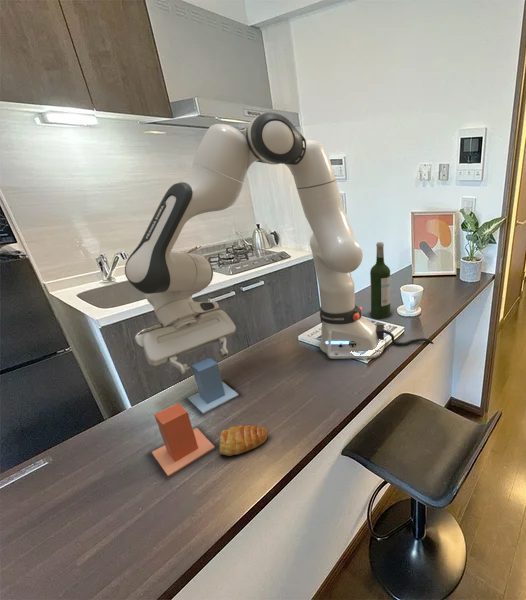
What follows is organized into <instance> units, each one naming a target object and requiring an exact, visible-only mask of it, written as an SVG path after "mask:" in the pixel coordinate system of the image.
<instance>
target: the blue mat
mask: <svg viewBox="0 0 526 600" xmlns="http://www.w3.org/2000/svg"><path fill="white" fill-rule="evenodd" d="M222 384H223V388H224V392H225V396H223V397H221V398H219V399H217V400H215V401H213V402H211V403H209V404H207V403H206V402H205V401H204V400H203V399H202V398H201V397H200V395H199V392H196V393H194V394H192V395H190V396H188V397H187V400H188V401H190V402H191V403H192V404H193V406H194V407H196V408H197V410H198V411H200V413H201V414H203V415H204V414H206V413H208V412H210V411H212V410H214V409H216V408H217V407H219V406H221V405H223V404H225V403H227V402H229V401H231V400H233V399H235V398H237V397H238V396H239V393H238V392H237V391H235V390H234V389H233V388H231V387H230V386H229V385H227V384H226V382H224V381H223V380H222Z"/></svg>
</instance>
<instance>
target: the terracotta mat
mask: <svg viewBox="0 0 526 600" xmlns="http://www.w3.org/2000/svg"><path fill="white" fill-rule="evenodd" d="M193 432H194V435H195V438H196V442H197V445H198V449H196V450H195V451H193V452H191V453H190V454H188V455H186V456H184V457H183V458H181V459H179V460H178V461H176V462H175V461H174V459H173V458H172V457H171V456H170V454H169V453H168V452H167V450H166V447H165V444H164V445H162V446H159V447H158V448H157V449H155V450H153V451H151V454H152V456H153V457H154V458H155V460H156V462H157V463H158V464H159V466H160V467H161V469H162V470H163V472H164V473H165V474H166V476H167V477H168V478H169V477H171V476H172V475H174V474H175V473H177V472H178V471H180V470H182V469H183V468H185V467H187V466H189V465H190V464H192V463H193V462H195V461H196V460H199V459H200V458H201V457H203V456H205V455H206V454H208V453H209V452H211V451H213V450H215V449H216V446H215V445H214V444H213V443H212V442H211V441H210V440H209V439H208V438H207V437H206V436H205V435H204V434H203V432H202V431H201V430H200V429H199V428H198V427H194V428H193Z"/></svg>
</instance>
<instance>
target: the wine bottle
mask: <svg viewBox="0 0 526 600" xmlns="http://www.w3.org/2000/svg"><path fill="white" fill-rule="evenodd" d="M384 246H385V245H384V242H382V241H377V242H376V255H375V256H376V257H375V258H376V259H375V264H374V265H373V266H371V268H370V272H369V275H370V276H369V278H370V279H369V280H370V315H371V316H372V317H373V318H375V319H386V318H388V317H390V315H391V269H390V267H389V266H388V265H387V264H386V263H385V253H384V251H385V250H384Z"/></svg>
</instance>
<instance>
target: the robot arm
mask: <svg viewBox="0 0 526 600" xmlns="http://www.w3.org/2000/svg"><path fill="white" fill-rule="evenodd" d="M254 163H262V164H267V165H284V166H286V167H287V169H289V171H290V173H291V175H292V177H293V181H294V184H295V188H296V191H297V194H298V197H299V201H300V205H301V207H302V210H303V214H304V217H305V219H306V221H307V222H308V224H309V226H310V229H311V232H312V234H311V236H310V238H309V247H310V250H311V255H312V259H313V265H314V269H315V274H316V277H317V283H318V289H319V299H320V300H319V301H320V307H319V318H320V323H321V335H320V341H319V345H318V346H319V349H320V351H322V352H323V353H325V354H326V355H327V357H328V358H329V359H333V360H334V359H337V360H338V359H339V360H340V359H342V360H343V359H375V358H377V357H379V356H380V355H381V354H382V353H383V351H384V350H385V348H386V344H385V345H384V346H383V347H382V348H381V349H379V350H375V352H376V353H375V354H374V356H354V355H353V354H352V353H350V352H351V351H352V352H354V351H355V352H356V351H368V350H373V349H375V348H376V347H377V345H378V343H379V339H380V340H384V338H385V334H386V335H388V336H390V338H391V342H392V343H393V344H394V345H396V346H407V345H410V344H412V343H417V342H427V343H429V344H430V345H434V342H433V341H432V340H431V339H429V338H426V337H425V338H424V337H421V338H413V339H409V340H408V341H404V342H399V341H397V340H395V336H394V334H393V333H392V332H391V331H388V330H385V325H384V324H382V323H380V324H377V323H376V324H375V323H373V322H372V321H370V320H369V319H367V318H366V317H364V316H363V315H362V310H363V307H362V305H361V306H360V307H359V306H357V304H356V293H355V282H354V280H353V277H352V272H354V271H356V270H357V269H358V268H359V267H360V265H361V264H362V261H363V256H364V255H363V254H364V253H363V250H362V248H361V246H360V244H359V243H358V241H357V238H356V235H355V233H354V231H353V229H352V226H351V223H350V221H349V218H348V216H347V214H346V211H345V209H344V205H343V202H342V198H341V195H340V190H339V187H338V183H337V179H336V175H335V172H334V169H333V165H332V163H331V159H330V157H329V155H328V153H327V151H326V148H325V146H324V145H323V144H322V143H321V142H320V141H318V140H316V139H313V138H305V137H304V136H303V134H302V133H300V131H299V130H298V129H297V127H296V126H295V125H294V124H293V123H292V121H291V120H290V119H289V118H287V117H285V116H284V115H282V114H281V113H277V112H271V111H269V112H264V113H261V114H260V115H257V116H255V117H254V118H253V119H252V120H251V121H250V122H249V123H248V124H247V125H246V126H245V127H243V128H242V129H240V128H239V129H238V128H236V127H234V126H232V125H229V124H226V123H215V124H212V125H211V126H209V127H208V128H207V130H206V132H205V134H204V135H203V137H202V139H201V141H200V143H199V145H198V148H197V149H196V152H195V155H194V158H193V161H192V163H191V166H190V169H189V171H188V172H187V174H186V175H185V176H184V177H183V179H181V181H179V182H177V183H174V184H172V185H171V186H169V188H168V190H167V191H165V194H164V195H163V196H162V199H161V201H160V202H159V204H158V206H157V209H155V213H154V215H152V218H151V220H150V222H149V224H148V226H147V228H146V230H145V232H144V234H143V236H142V238H141V240H140V242H139V244H138V245H137V246H136V247H135V249H134V250H133V251H132V253H130V255H129V257H128V258H127V260H126V262H125V265H124V274H125V278H126V279H127V281H128V282H129V283H130V284H131V285H132V287H134V288H135V289H136V290H137V291H139V292H141V293H143V296H144V297H145V298H146V301H147V302H148V303H149V304H150V305H151V306H152V307H153V311H154V315H155V317H156V319H157V321H158V322H159V324H155V325H152V326H150V327H148V328H143V329H141V330H139V331H138V332H137V333H136V334H135V336H134V341H135V342H136V344H137V346H138V347H140V348H142V349H143V353H144V356H145V359H146V361H147V364H149V365H150V366H153V367H156V366H159V365H161V364H165V363H167V362H168V363H169V365H170V366H172V367H174V368H176V369H178V370H179V372H180V374H182V375H184V374H186V373H189V372H190V367H189V366H188V364H187V363H183V364H182V363H181V362H179V361H178V358H181V357H182V356H185V355H187V354H190V353H193V352H195V351H198V350H200V349H201V350H202V349H203V348H206V347H209V346H211V345H213V344H216V343H218V345H219V346H221V348H220V349H219V351H218V354H219V355H220V357H221V358H224V357H227V356H228V355H229V351H228V349H227V341H228V340H227V339H229V338H231V337H233V336H234V335H235V333H236V330H237V327H236V325H235V323H234V322H233V320H232V319H231V317H230V316H229V315H228V314H227V313H226V312H225V311H224V310H222V309H220V306H219V303H218V302H217V301H194V299H193V298H192V297H193V295H195V294H198V293H200V292H202V291H203V290H204V289H206V288H207V287H208V286H209V285H211V282H212V281H213V277H214V269H213V265H212V263H211V262H210V260H209V259H208V258H207V257H205V256H204V255H202V254H198V253H191V252H177V251H172V250H173V248H174V246H175V244H176V242H177V240H178V238H179V236H180V234H181V232H182V230H183V228H184V226H185V225H186V223H187V222H188V221H189V220H191V219H193V218H194V217H197V216H199V215H203V214H207V213H211V212H212V213H213V212H220V211H225V210H226V209H229V208H230V207H232V206H233V205H234V204H235V203H236V202H237V200H238V199H239V197H240V194H241V192H242V189H243V185H244V183H245V179H246V176H247V173H248V171H249V169H250V167H251V166H252V165H253V164H254ZM360 355H361V354H360Z"/></svg>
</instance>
